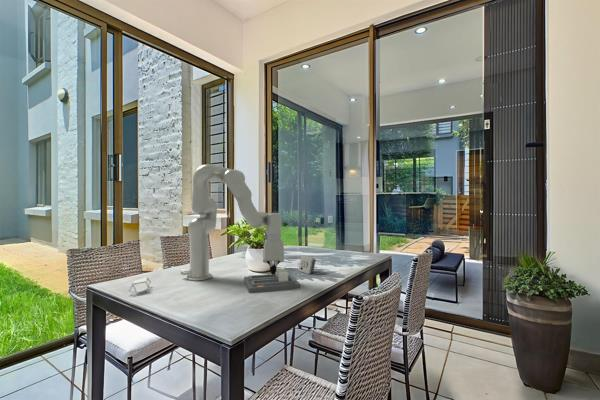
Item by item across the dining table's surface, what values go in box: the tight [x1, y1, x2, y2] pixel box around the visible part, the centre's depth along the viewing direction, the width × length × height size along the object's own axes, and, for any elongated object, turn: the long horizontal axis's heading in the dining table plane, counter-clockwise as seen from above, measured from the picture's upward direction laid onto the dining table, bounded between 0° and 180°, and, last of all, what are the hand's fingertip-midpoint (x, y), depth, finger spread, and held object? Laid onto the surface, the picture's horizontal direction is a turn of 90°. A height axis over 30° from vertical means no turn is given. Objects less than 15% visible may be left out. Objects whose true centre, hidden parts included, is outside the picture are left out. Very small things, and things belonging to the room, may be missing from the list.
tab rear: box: [275, 266, 286, 277], centre depth 157 cm, size 4×3×4 cm
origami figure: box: [128, 277, 152, 294], centre depth 141 cm, size 12×8×5 cm
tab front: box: [278, 271, 289, 282], centre depth 148 cm, size 4×3×4 cm
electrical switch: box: [298, 254, 317, 275], centre depth 175 cm, size 9×5×9 cm, turn 41°
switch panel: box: [243, 273, 301, 294], centre depth 151 cm, size 24×20×3 cm
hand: (273, 273), depth 156 cm, fingers closed
